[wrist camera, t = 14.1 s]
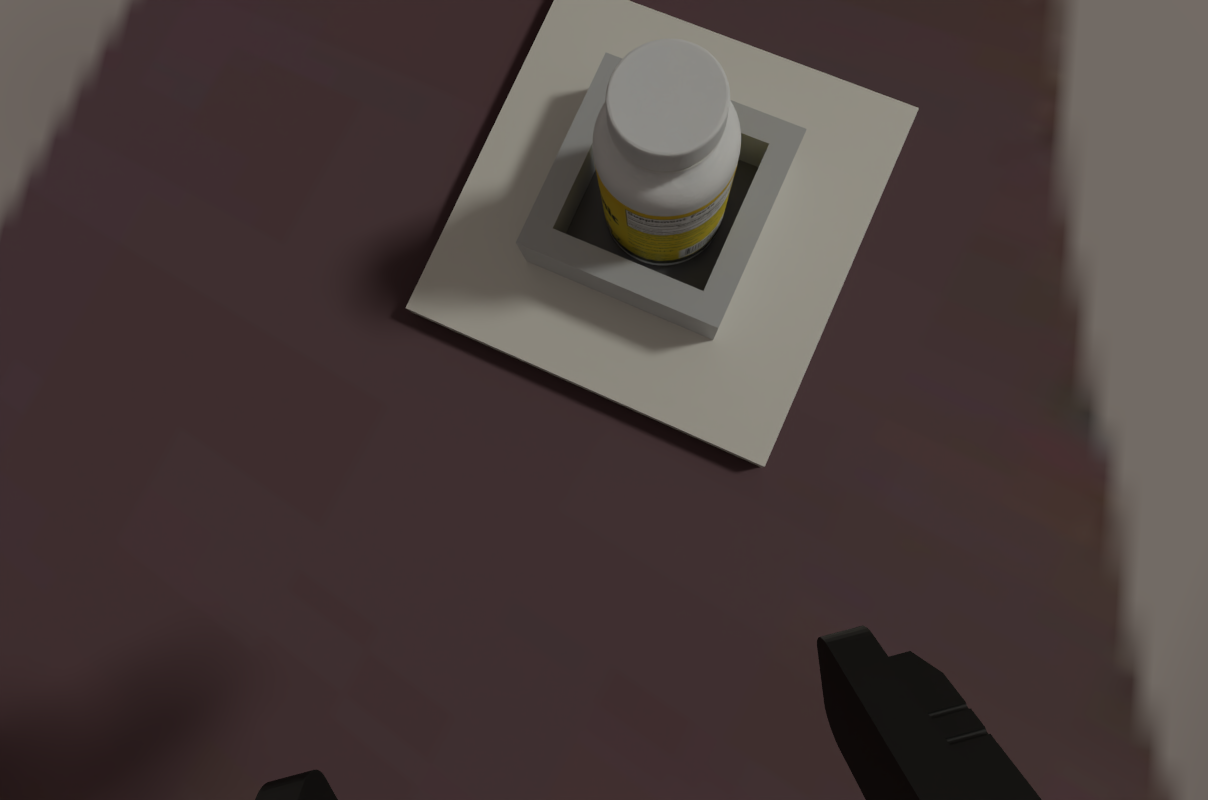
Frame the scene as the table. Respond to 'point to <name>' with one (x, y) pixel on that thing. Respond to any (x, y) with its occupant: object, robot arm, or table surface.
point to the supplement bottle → (666, 151)
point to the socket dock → (664, 292)
